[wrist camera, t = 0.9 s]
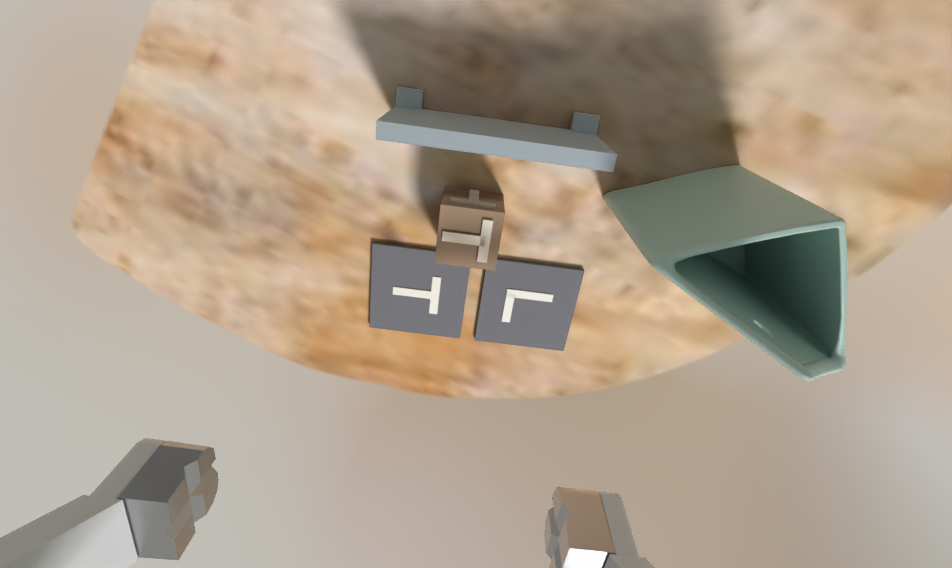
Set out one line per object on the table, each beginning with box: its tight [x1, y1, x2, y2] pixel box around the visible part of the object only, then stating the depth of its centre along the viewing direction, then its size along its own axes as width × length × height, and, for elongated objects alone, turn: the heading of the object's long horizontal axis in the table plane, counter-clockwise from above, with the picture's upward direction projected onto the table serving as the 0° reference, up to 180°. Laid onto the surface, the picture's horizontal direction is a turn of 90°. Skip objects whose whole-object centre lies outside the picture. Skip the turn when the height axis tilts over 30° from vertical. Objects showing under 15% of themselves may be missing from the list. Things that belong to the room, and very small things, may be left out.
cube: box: [435, 187, 505, 271], centre depth 40 cm, size 5×5×5 cm
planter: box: [603, 165, 847, 381], centre depth 33 cm, size 16×8×20 cm, turn 61°
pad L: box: [475, 258, 584, 351], centre depth 46 cm, size 9×9×1 cm
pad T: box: [369, 242, 470, 338], centre depth 46 cm, size 9×9×1 cm
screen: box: [376, 86, 618, 172], centre depth 35 cm, size 4×16×8 cm, turn 82°
